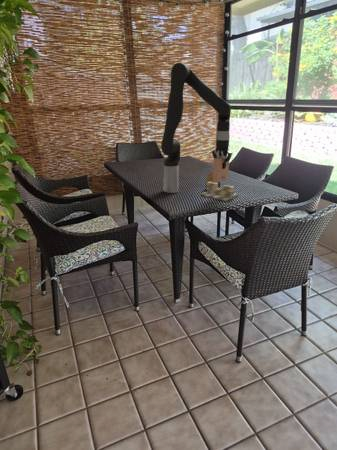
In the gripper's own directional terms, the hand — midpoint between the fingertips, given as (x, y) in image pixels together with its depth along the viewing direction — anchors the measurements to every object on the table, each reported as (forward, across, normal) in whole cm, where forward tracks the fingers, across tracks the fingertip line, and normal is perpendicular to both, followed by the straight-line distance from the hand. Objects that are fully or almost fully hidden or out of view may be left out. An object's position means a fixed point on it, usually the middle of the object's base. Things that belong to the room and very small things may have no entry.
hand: (221, 168), depth 187 cm
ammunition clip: (+18, -13, +11) cm, 24 cm away
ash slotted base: (+17, 0, 0) cm, 17 cm away
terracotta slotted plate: (+8, 0, 0) cm, 8 cm away
